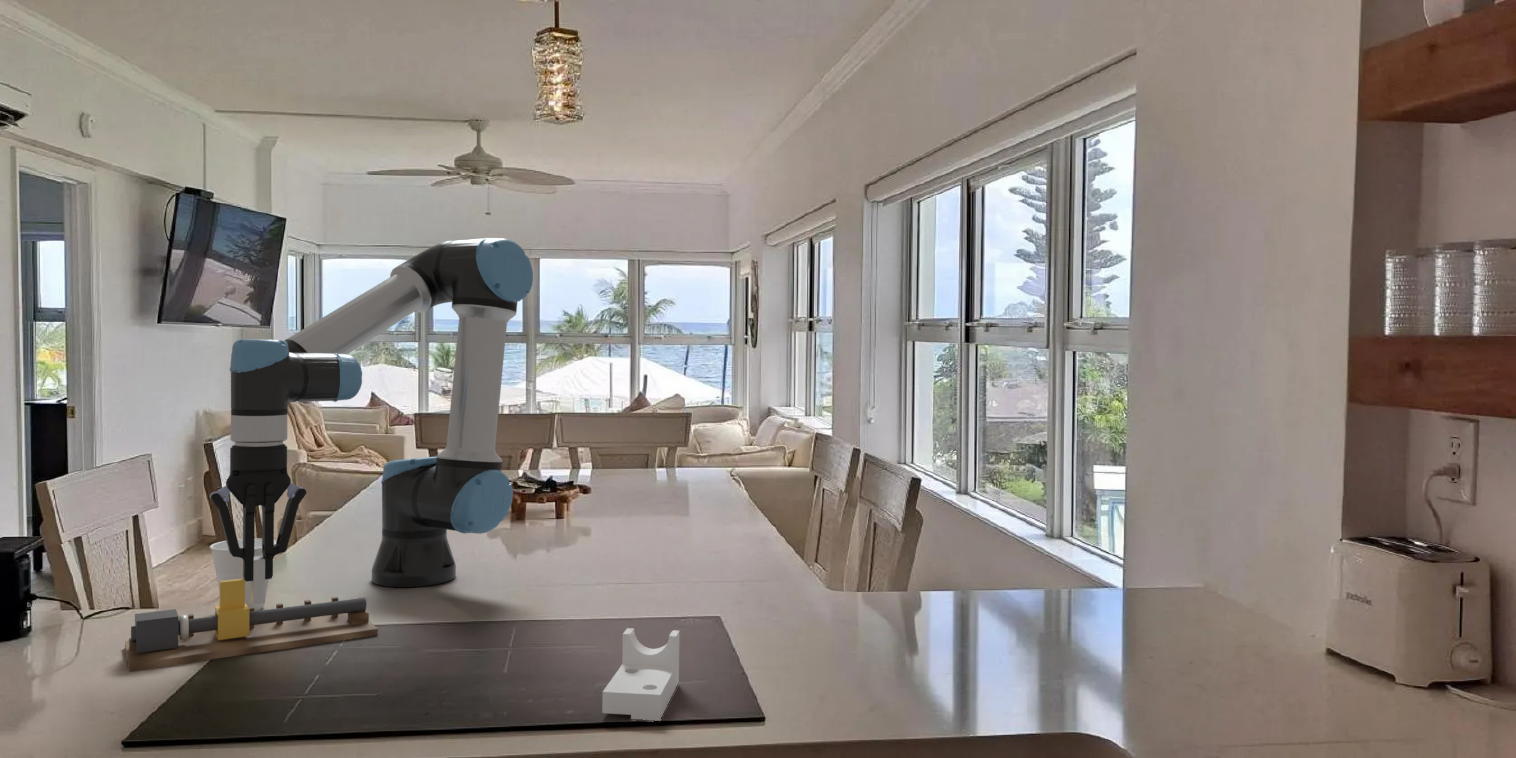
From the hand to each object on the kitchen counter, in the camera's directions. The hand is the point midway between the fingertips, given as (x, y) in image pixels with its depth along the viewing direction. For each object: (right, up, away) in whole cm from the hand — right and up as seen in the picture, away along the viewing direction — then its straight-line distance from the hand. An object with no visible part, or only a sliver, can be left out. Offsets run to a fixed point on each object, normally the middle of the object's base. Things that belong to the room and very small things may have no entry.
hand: (257, 601), depth 144 cm
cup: (-11, -5, +17) cm, 21 cm away
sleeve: (-3, -4, -2) cm, 6 cm away
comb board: (0, -6, 0) cm, 6 cm away
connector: (-10, -5, -7) cm, 13 cm away
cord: (0, -3, 0) cm, 3 cm away
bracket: (+60, -8, -21) cm, 64 cm away
